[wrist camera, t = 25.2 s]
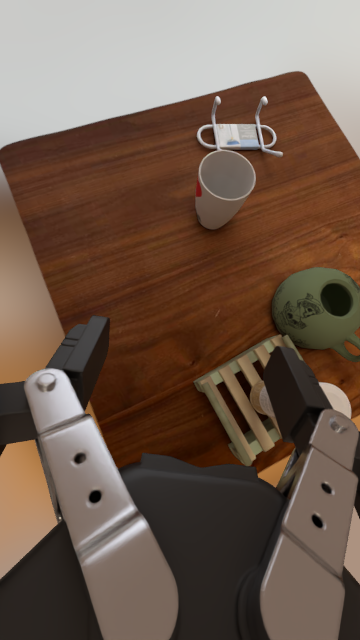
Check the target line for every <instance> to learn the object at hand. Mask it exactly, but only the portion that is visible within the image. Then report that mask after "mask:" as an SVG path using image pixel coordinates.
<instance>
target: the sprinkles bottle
mask: <svg viewBox="0 0 360 640" xmlns="http://www.w3.org/2000/svg"><path fill="white" fill-rule="evenodd" d="M319 386H321V388H322V389H323V391H324V393H325V395H326V396H327V398H328V400H329V402H330V404H331V405H332V407H333V409H334V410H336V411H339V412H341V413H343V414H344V415H346V416H347V417H348V418H349V419H351V406H350V403H349V400H348V398H347V396H346V395H345V394H344V392H343V391H342V390H341V389H339V388H338V387H337V386H335V385H333V384H329V383H323V382H319ZM250 402H251V404H252V406H253V408H254V409H255V410H256V411H257V412H259V413H261V414H264V415H269V416H271V417H273V418H275V415H274V412H273V409H272V406H271V402H270V399H269V396H268V393H267V390H266V387H265V384H264V381H260V382H258V383H257V384H255V385H254V386H253V388H252V389H251V393H250Z"/></svg>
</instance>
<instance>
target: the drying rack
mask: <svg viewBox="0 0 360 640" xmlns="http://www.w3.org/2000/svg"><path fill="white" fill-rule="evenodd" d="M276 346H282V347H288V348H293V349H294V350H295V352H296V353H297V355H298V357H299V359H300V360H303V359H302V357H301V355H300V354H299V352H298V350H297V349H296V347H295V346H294V344H293V342H292V341H291V339H290V338H289V336H288V335H285V336H283V337H282V336H281V335H276V336H273V337H270V338H267V339H265V340H263V341H262V342H260V343H258V344H257V345H255V346H253V347H251V348H250V349H248V350H246V351H245V352H243V353H241V354H240V355H238V356H236V357H234V358H233V359H231V360H229V361H228V362H226V363H224V364H222V365H221V366H219V367H217V368H216V369H214V370H212V371H210V372H209V373H207V374H205V375H204V376H202V377H200V378H199V379H197V380H195V381H194V384H195V386H196V388H197V390H198V391H201V392H205V394H206V396H207V397H208V399H209V401H210V403H211V405H212V406H213V408H214V410H215V412H216V414H217V415H218V417H219V419H220V421H221V423H222V424H223V426H224V428H225V430H226V432H227V434H228V435H229V437H230V439H231V441H232V442H231V443H230V444H228V446H229V448H230V450H231V451H232V453H233V455H234V456H235V457H236V458H237V459H238V460H239V461H241V462H242V463H244V464H245V466H249V465H251V464H252V461H253V460H254V459H256V457H255V455H257V454H258V453H260V452H261V451H262V450H263V451H264V452H266V451H267V450H269V449H270V448H272V447H273V446H275V445H274V442H276V441H277V440H279V439H280V438H281V439H282V436H281V433H280V430H279V427H278V424H277V421H276V418H273V417H271V416H269V415H267V416H268V417H269V418H268V419H266V420H265V421H263V422H261V421H260V419H259V417H258V415H257V414H256V412H255V410H254V408H253V407H252V405H251V403H250V401H249V400H248V398H247V396H246V394H245V393H244V391H243V389H242V387H241V386H240V384H239V382H238V380H237V379H236V377H235V375H234V374H235V373H237V372H239V371H240V370H241V371H242V372H243V374H244V376H245V378H246V379H247V381H248V383H249V385H250V386H251V388H253V386H254V385H255V384H257V383H258V382H260V381H262V380H261V378H260V377H259V375H258V373H257V372H256V370H255V368H254V367H253V365H252V363H254V362H255V361H257V360H259V361H260V363H261V365H262V366H263V368H264V369H265V366H266V364H267V362H268V360H269V358H270V354H269V353H270V352H272V351H273V350H274V348H275V347H276ZM303 361H304V360H303ZM222 381H224V383H225V385H226V386H227V388H228V390H229V392H230V394H231V395H232V397H233V399H234V401H235V402H236V404H237V406H238V408H239V409H240V411H241V413H242V415H243V416H244V418H245V420H246V422H247V424H248V425H249V427H250V429H251V430H250V431H248V432H247V433H245V434H244V435H243V433H242V432H241V430H240V428H239V426H238V425H237V423H236V421H235V419H234V417H233V416H232V414H231V412H230V410H229V408H228V407H227V405H226V403H225V401H224V400H223V398H222V396H221V394H220V392H219V391H218V389H217V387H216V385H217V384H219V383H220V382H222Z"/></svg>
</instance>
